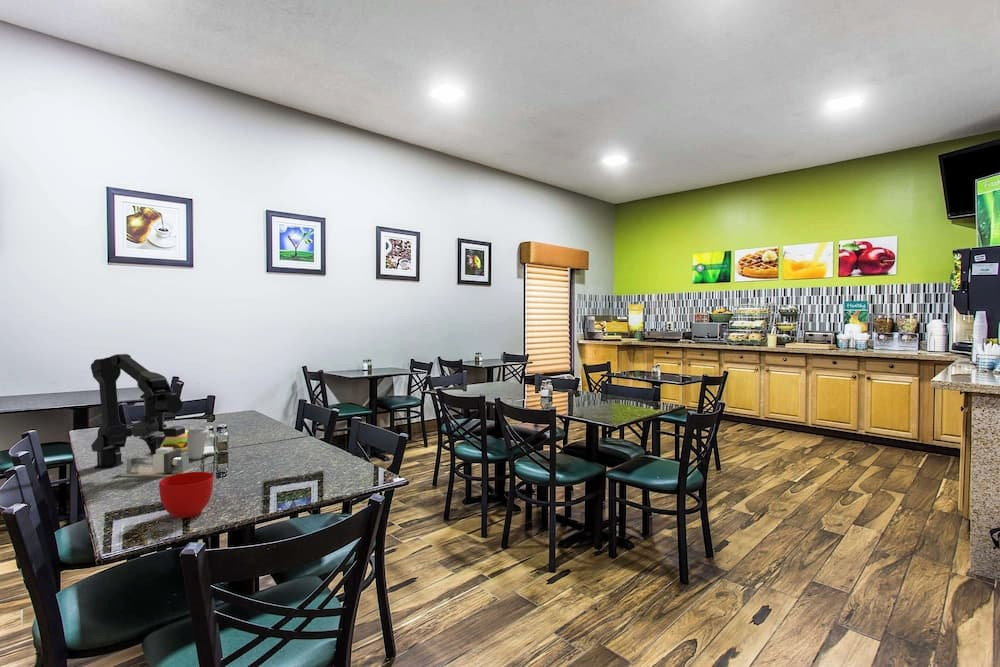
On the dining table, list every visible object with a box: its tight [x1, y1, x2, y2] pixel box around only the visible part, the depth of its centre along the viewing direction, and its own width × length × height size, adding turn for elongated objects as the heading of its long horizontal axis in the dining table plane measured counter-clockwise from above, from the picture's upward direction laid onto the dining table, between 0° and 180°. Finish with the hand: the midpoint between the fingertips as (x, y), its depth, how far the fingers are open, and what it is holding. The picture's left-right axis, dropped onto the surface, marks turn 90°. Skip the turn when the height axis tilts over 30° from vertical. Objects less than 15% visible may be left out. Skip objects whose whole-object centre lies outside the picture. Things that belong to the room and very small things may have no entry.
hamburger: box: [160, 429, 189, 452], centre depth 212 cm, size 12×12×9 cm
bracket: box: [152, 447, 174, 473], centre depth 180 cm, size 4×6×8 cm, turn 0°
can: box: [186, 425, 210, 460], centre depth 200 cm, size 8×8×12 cm
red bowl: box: [158, 471, 214, 519], centre depth 144 cm, size 13×17×10 cm
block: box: [164, 449, 182, 473], centre depth 180 cm, size 2×7×6 cm, turn 0°
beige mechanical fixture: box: [119, 455, 195, 478], centre depth 180 cm, size 20×9×5 cm, turn 90°
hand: (154, 455), depth 180 cm, fingers closed
